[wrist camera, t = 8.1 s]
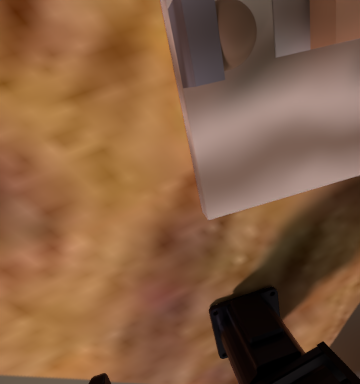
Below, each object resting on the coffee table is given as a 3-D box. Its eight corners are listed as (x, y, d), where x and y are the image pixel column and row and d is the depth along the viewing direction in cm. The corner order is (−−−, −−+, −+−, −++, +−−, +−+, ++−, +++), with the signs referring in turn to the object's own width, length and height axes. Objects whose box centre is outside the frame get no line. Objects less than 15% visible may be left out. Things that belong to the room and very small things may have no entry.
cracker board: (413, 150, 22) (482, 163, 18) (202, 211, 20) (224, 243, 16) (450, -141, 16) (576, -230, 11) (141, -96, 13) (150, -186, 9)
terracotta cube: (340, 42, 16) (368, 36, 14) (310, 49, 16) (335, 43, 14) (341, -17, 15) (372, -33, 13) (309, -10, 15) (336, -26, 13)
